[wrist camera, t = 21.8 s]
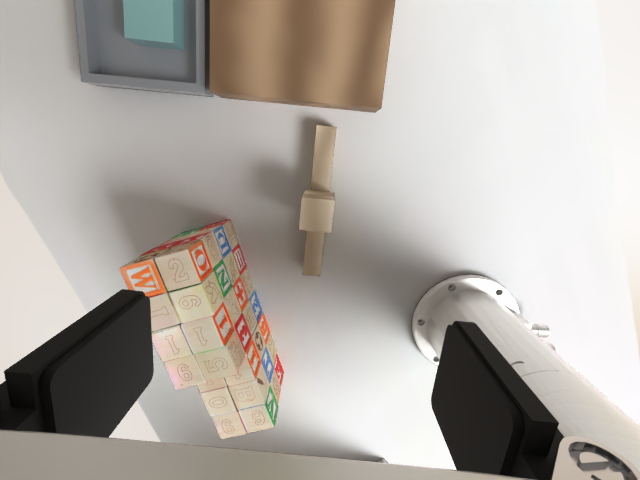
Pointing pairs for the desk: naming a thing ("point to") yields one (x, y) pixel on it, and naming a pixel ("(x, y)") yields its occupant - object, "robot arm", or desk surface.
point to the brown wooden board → (301, 51)
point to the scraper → (318, 201)
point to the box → (142, 51)
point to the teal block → (155, 23)
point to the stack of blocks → (211, 326)
